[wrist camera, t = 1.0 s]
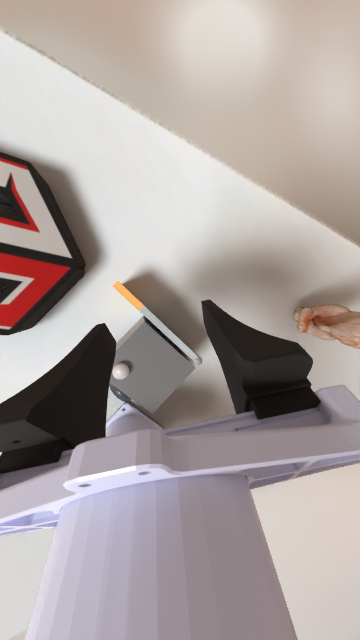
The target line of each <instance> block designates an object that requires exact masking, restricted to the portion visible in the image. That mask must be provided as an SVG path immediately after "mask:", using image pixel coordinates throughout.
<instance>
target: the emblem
mask: <svg viewBox="0 0 360 640" xmlns="http://www.w3.org/2000/svg"><path fill="white" fill-rule="evenodd" d="M0 204H3V205H7V206H10V207H13V209H14V210H15V212H16V213H17V216H15V215H12V214H8V213H4V212H0V284H3V285H9V287H8V288H7V289H5V291H3V292H2V293H1V294H0V335H11V334H14V333H17V332H21V331H24V330H27V329H30V328H32V327H34V326H35V324H37V322H38V321H39V320H40V319H41V318H42V317H43V316H44V315H45V314H46V313H47V312H48V311H49V310H50V309H51V308H52V307H53V306H54V305H55V304H56V303H57V302H58V301H59V300H60V299H61V298H62V297H63V296H64V295H65V294H66V293H67V292H68V291H69V290H70V289H71V288H72V287H73V286H74V285H75V284H76V283H77V282H78V280H79V279H81V278H82V277H83V276H84V270H83V268H85V265H86V264H85V261H84V259H83V257H82V255H81V252H80V250H79V248H78V246H77V244H76V242H75V240H74V238H73V236H72V234H71V232H70V230H69V228H68V225H67V223H66V221H65V219H64V217H63V215H62V213H61V211H60V209H59V207H58V205H57V203H56V201H55V198H54V196H53V194H52V192H51V190H50V188H49V186H48V184H47V183H46V182H45V181H44V179H43V178H42V177H41V176H40V174H39V173H38V172H37V171H36V169H35V168H34V167H33V166H32V164H31V163H29V162H27V161H24V160H22V159H19V158H16V157H13V156H10V155H7V154H4V153H1V152H0Z"/></svg>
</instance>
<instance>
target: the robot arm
mask: <svg viewBox="0 0 360 640" xmlns="http://www.w3.org/2000/svg"><path fill="white" fill-rule="evenodd" d="M201 303H202V311H203V319H204V324H205V328H206V331H207V334H208V336H209V338H210V341H211V343H212V345H213V347H214V350H215V352H216V354H217V356H218V358H219V361H220V363H221V366H222V369H223V372H224V375H225V379H226V382H227V385H228V388H229V391H230V394H231V398H232V401H233V404H234V408H235V411H236V415H232V416H227V417H222V418H218V419H213V420H208V421H203V422H199V423H194V424H189V425H185V426H180V427H175V428H170V429H166V430H163V428H162V427H161V426H159V425H158V424H157V423H155V422H154V421H153V420H151V419H150V418H148V417H147V416H146V415H144V414H143V413H141V412H140V411H139V410H137V409H136V408H134V407H133V406H132V405H130V404H129V403H124V404H123V405H122V406H121V408H120V409H119V410H118V411H117V412H116V413H115V414H114V415H113V416H112V417H111V418H110V419H109V420H108V421H107V422H106V411H107V398H108V389H109V383H110V378H111V373H112V369H113V364H114V360H115V355H116V341H115V339H114V338H113V336H112V334H111V333H110V331H109V329H108V328H107V326H106V324H105V323H103V324H98V325H96V326H95V327H94V328H93V329H92V330H91V331H90V332H89V333H88V334H87V335H86V336H85V337H84V338H83V339H82V340H81V342H80V343H79V344H78V345H77V346H76V347H75V348H74V349H73V350H72V351H71V352H70V353H69V354H68V355H67V356H66V357H65V358H64V359H62V360H61V361H60V362H59V363H58V364H57V365H56V366H54V367H53V368H52V369H51V370H50V371H48V372H47V373H46V374H44V375H43V376H42V377H40V378H39V379H38V380H36V381H35V382H34V383H32V384H31V385H29V386H28V387H26V388H25V389H23V390H22V391H20V392H19V393H17V394H16V395H14V396H12V397H11V398H9V399H7V400H6V401H4V402H2V403H1V404H0V452H3V453H2V454H1V456H0V537H1V536H6V535H12V534H18V533H24V532H30V531H36V530H42V529H48V528H54V527H56V531H55V534H54V538H53V541H52V545H51V548H50V552H49V555H48V559H47V563H46V566H45V570H44V573H43V577H42V580H41V584H40V587H39V591H38V594H37V598H36V602H35V605H34V609H33V612H32V616H31V619H30V623H29V626H28V630H27V634H26V637H25V640H298V639H297V636H296V633H295V630H294V626H293V623H292V620H291V617H290V614H289V611H288V608H287V604H286V602H285V598H284V595H283V592H282V589H281V586H280V582H279V579H278V576H277V573H276V570H275V567H274V564H273V561H272V557H271V554H270V551H269V548H268V545H267V542H266V538H265V535H264V532H263V529H262V526H261V523H260V520H259V516H258V513H257V510H256V507H255V504H254V501H253V498H252V494H251V491H250V489H254V488H258V487H262V486H266V485H270V484H274V483H278V482H282V481H286V480H290V479H294V478H298V477H302V476H306V475H310V474H314V473H318V472H322V471H326V470H330V469H335V468H339V467H344V466H348V465H353V464H358V463H360V401H359V400H358V399H357V398H356V397H355V396H354V395H353V394H352V393H351V392H350V391H349V390H348V389H347V387H346V386H345V385H338V386H333V387H328V388H324V389H320V390H318V391H316V392H315V393H314V392H313V391H312V389H311V388H310V387H311V383H310V382H309V380H308V379H307V376H308V374H309V372H310V370H311V368H312V364H313V359H312V358H311V357H310V355H309V354H308V353H307V352H306V351H305V350H304V349H303V348H302V347H301V346H300V345H299V344H298V343H296V342H292V341H289V340H285V339H281V338H277V337H274V336H271V335H268V334H266V333H263V332H260V331H258V330H256V329H253V328H251V327H249V326H247V325H245V324H243V323H241V322H239V321H238V320H236V319H234V318H233V317H231V316H230V315H229V314H227V313H226V312H224V311H223V310H222V309H221V308H219V307H218V306H217V305H216V304H215V303H213V302H212V301H211V300H210V299H209V300H205V301H201ZM123 408H125V410H123Z"/></svg>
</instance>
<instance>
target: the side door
mask: <svg viewBox="0 0 360 640" xmlns="http://www.w3.org/2000/svg"><path fill="white" fill-rule="evenodd" d="M113 287H114V288H115V289H116V290H117V291H118V292H119V293H120V294H122V295H123V296H124V297H125V298H126V299H127V300H128V301H129V302H130V303H131V304H132V305H133V306H135V307H136V308H137V309H138V310H139V311H140V312H141V313H142V314H143V315H144V316H145V317H146V318H147V319H149V320H150V321H151V322H152V323H153V324H154V325H155V326H156V327H157V328H158V329H159V330H160V331H162V332H163V333H164V334H165V335H166V336H167V337H168V338H169V339H170V340H171V341H172V342H173V343H174V344H176V345H177V346H178V347H179V348H180V349H181V350H182V351H183V352H184V353H185V354H186V355H187V356H189V358H190V359H191V360H192V361H193V362H194V363H195V365H200V364H201V363H202V359H201V357H199V356H198V355H197V354H196V353H195V352H194V351H193V350H192V349H191V348H190V347H189V346H187V345H186V344H185V343H184V342H182V341H181V340H180V339H179V338H178V337H177V336H176V335H175V334H174V333H173V332H172V331H171V330H170V329H169V328H168V327H167V326H166V325H165V324H163V323H162V322H161V321H160V320H159V319H158V318H157V317H156V316H155V315H154V314H153V313H152V312H151V311H150V310H149V309H148V308H147V307H146V306H144V305H143V304H142V303H141V302H140V301H139V300H138V299H137V298H136V297H135V296H134V295H133V294H132V293H131V292H130V291H129V290H128V289H127V288H125V287H124V286H123V285H122V284H121V283H120V282H119V281H117V282H116V283H115V284H114V285H113Z"/></svg>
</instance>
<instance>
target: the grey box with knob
mask: <svg viewBox="0 0 360 640" xmlns="http://www.w3.org/2000/svg"><path fill="white" fill-rule="evenodd" d="M194 369H195V367H194V366H193V364H192V363H191V362H190V361H189V359H188V358H187V357H186V356H185V355H184V354H183V353H182V352H181V351H180V350H179V349H178V348H177V347H176V346H174V345H173V344H172V343H171V342H170V341H169V340H168V339H167V338H166V337H165V336H164V335H163V334H161V333H160V332H159V331H158V330H157V329H156V328H155V327H154V326H153V325H152V324H151V323H150V322H148V321H147V320H146V319H145V318H144V317H142V318H141V319H140V320H139V321H138V322H137V323H136V324H135V325H134V326H133V327H132V328H131V329H130V330H129V331H128V332H127V333H126V334H125V335H124V336H123V338H122V339H121V340H120V341H119V342H118V343H117V344H116V355H115V360H114V364H113V369H112V373H111V378H110V384H109V385H110V389H111V391H112V392H113V394H114V395H115V396H116V397H117V398H119V399H120V400H122V401H124V402H129V401H130V400H131V399H132V400H134V401H135V402H136V403H138V404H139V405H140V406H142V407H143V408H145V409H146V410H147V411H149V412H150V413H151V414H153V413H154V412H155V411H156V410H157V409H158V408H159V407H160V406H161V405H162V404H163V403H164V401H165V400H166V399H167V398H168V397H169V396H170V395H171V394H172V393H173V392H174V391H175V390H176V388H177V387H178V386H179V385H180V384H181V383H182V382H183V381H184V380H185V379H186V378H187V376H188V375H189V374H190V373H191V372H192V371H193V370H194Z"/></svg>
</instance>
